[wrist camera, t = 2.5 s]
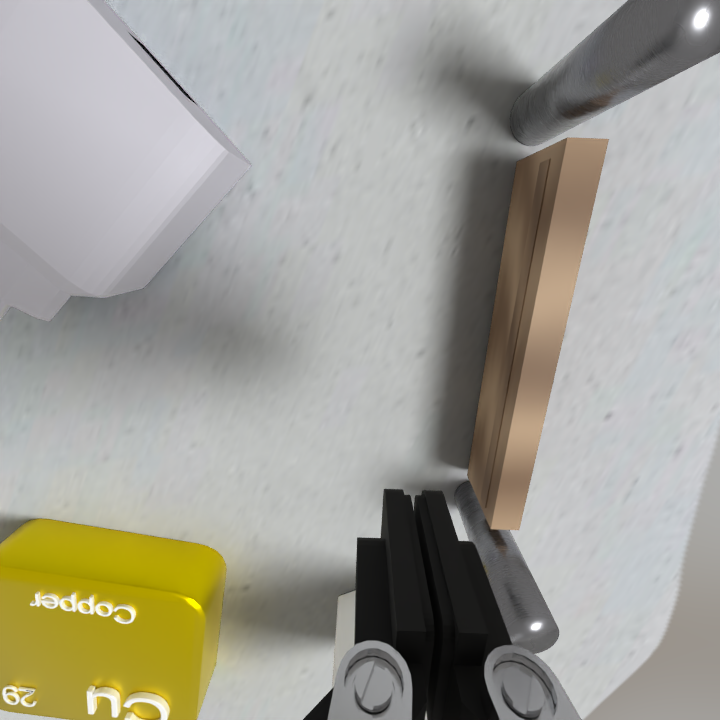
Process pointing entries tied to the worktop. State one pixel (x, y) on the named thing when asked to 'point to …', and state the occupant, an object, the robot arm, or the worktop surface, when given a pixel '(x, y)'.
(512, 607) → the latch post
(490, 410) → the gate
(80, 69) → the charger
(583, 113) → the hinge post
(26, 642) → the element tile
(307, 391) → the worktop surface
